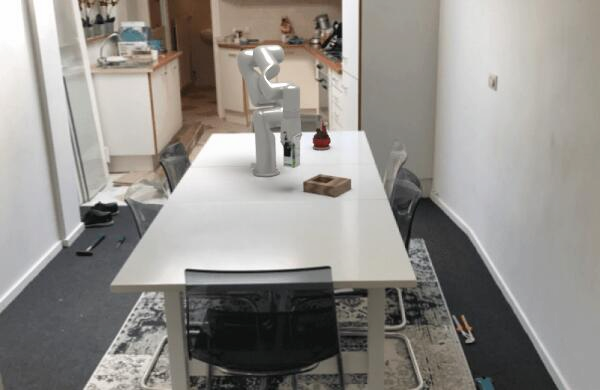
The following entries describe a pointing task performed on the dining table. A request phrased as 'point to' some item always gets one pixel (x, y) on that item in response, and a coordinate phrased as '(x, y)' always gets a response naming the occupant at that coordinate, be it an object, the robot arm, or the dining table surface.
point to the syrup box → (293, 153)
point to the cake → (321, 137)
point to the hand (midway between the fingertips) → (291, 154)
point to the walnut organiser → (327, 185)
